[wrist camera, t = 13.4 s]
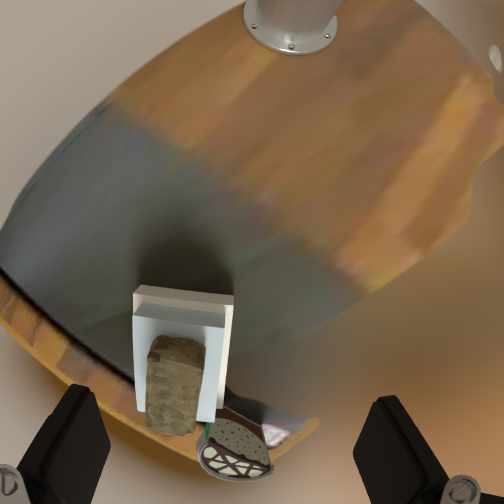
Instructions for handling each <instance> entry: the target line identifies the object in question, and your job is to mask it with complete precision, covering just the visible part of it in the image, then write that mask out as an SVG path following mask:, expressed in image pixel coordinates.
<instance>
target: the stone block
mask: <svg viewBox="0 0 504 504" xmlns="http://www.w3.org/2000/svg"><path fill="white" fill-rule="evenodd" d="M205 356H206V347H205V346H204V345H203V344H200V343H199V342H197V341H194V340H193V339H188V338H181V337H177V338H175V337H169V336H165V335H159V336H157V337H156V338H155V339H154V340H153V342H152V344H151V347H150V351H149V353H148V355H147V376H146V393H145V416H146V419H145V423H146V427H147V428H148V429H150V430H152V431H155V432H162V433H165V434H174V435H178V436H184V435H186V434H187V433H193V432H194V431H195V426H196V418H197V411H198V404H199V395H200V391H201V385H202V380H203V373H204V367H205Z"/></svg>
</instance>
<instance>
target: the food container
mask: <svg viewBox="0 0 504 504" xmlns="http://www.w3.org/2000/svg"><path fill="white" fill-rule="evenodd" d="M196 451H197V456H198V460H199V462H200V464H201V466H202V467H203V468H204V469H205V470H206V471H207V472H208V473H209V474H211V475H213V476H215V477H217V478H220V479H222V480H226V481H233V482H250V481H256V480H260V479H263V478H265V477H268V476H270V475H272V474H273V471H274V465H272V466H271V462H270V458H269V454H268V449H267V445H266V441H265V437H264V433H263V429H262V426H260V425H258V424H256V423H255V422H253V421H251V420H249V419H247V418H245V417H244V416H242V415H240V414H238V413H236V412H235V411H233V410H231V409H229V408H228V407H226V406H224V405H223V409H217V408H216V412H215V421H214V423H212V422H206V426H205V430H204V433H202V434H201V436H200V437H199V438H198V441H197V443H196Z"/></svg>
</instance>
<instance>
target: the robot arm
mask: <svg viewBox="0 0 504 504" xmlns="http://www.w3.org/2000/svg"><path fill="white" fill-rule="evenodd" d="M343 1H344V0H247V1H246V3H245V6H244V10H243V19H244V24H245V26H246V28H247V30H248V32H249V33H250V34H251V36H252V37H253V38H254V39H255V40H257V41H258V42H259V43H260V44H262V45H264V46H265V47H267V48H269V49H271V50H273V51H276V52H280V53H283V54H289V55H307V54H312V53H315V52H318V51H320V50H322V49H324V48H325V47H326V46H327V45H329V44H330V43H331V41H332V40H333V39H334V37H335V35H336V33H337V28H338V23H337V17H336V14H335V13H336V12H337V10H338V9H339V7H340V6H341V4H342V3H343ZM253 28H254V29H253ZM289 48H291V49H292V50H291V49H289ZM110 446H111V445H110V440H109V437H108V434H107V432H106V429H105V426H104V423H103V420H102V417H101V414H100V411H99V408H98V404H97V401H96V398H95V395H94V393H93V392H91V391H90V389H89V388H88V387H86V386H82V385H77V384H71V385H70V387H69V388H68V390H67V391H66V393H65V394H64V396H63V397H62V399H61V400H60V402H59V403H58V405H57V407H56V408H55V409H54V411H53V412H52V414H51V415H49V416H48V418H47V419H46V420H45V422H44V424H43V425H42V427H41V428H40V430H39V432H38V433H37V435H36V436H35V438H34V440H33V441H32V443H31V445H30V446H29V448H28V450H27V451H26V453H25V454H24V456H23V458H22V460H21V461H20V463H19V465H18V467H17V468H14V467H12V466H10V465H7V464H0V504H91V501H92V498H93V496H94V493H95V489H96V487H97V484H98V481H99V478H100V476H101V473H102V470H103V467H104V465H105V462H106V459H107V457H108V454H109V451H110ZM353 457H354V460H355V463H356V465H357V468H358V470H359V473H360V475H361V478H362V481H363V483H364V486H365V488H366V491H367V494H368V496H369V499H370V502H371V504H504V497H500V496H495V495H490V494H485V493H481V490H480V486H479V484H478V483H477V481H476V480H475V479H473V478H472V477H470V476H467V475H457V476H454V477H453V478H451V479H449V477H448V476H447V474H446V472H445V471H444V469H443V467H442V466H441V464H440V463H439V461H438V459H437V458H436V456H435V455H434V453H433V452H432V450H431V448H430V447H429V446H428V444H427V442H426V441H425V439H424V438H423V436H422V435H421V433H420V431H419V430H418V428H417V427H416V425H415V424H414V422H413V420H412V419H411V417H410V416H409V414H408V413H407V411H406V410H405V409H404V407H403V405H402V404H401V403H400V401H399V399H398V398H397V397H396V396H395V395H390V396H383V397H379V398H378V399H377V401H376V402H374V403H373V404H372V406H371V409H370V412H369V414H368V417H367V419H366V421H365V424H364V426H363V429H362V431H361V433H360V436H359V438H358V440H357V442H356V445H355V447H354V449H353Z"/></svg>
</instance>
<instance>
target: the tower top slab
mask: <svg viewBox="0 0 504 504" xmlns="http://www.w3.org/2000/svg"><path fill="white" fill-rule="evenodd" d="M225 316H226V313H217V312H209V311H201V310H194V309H186V308H179V307H172V306H165V305H159V304H152V303H146V302H142V303H141V305H140V306H139V307H138V309H137V310H136V311H135V313H134V314H133V354H134V373H135V387H136V399H137V410H138V411H141V412H145V393H146V376H147V355H148V353H149V351H150V347H151V344H152V342H153V340H154V339H155V338H156V337H157V336H159V335H165V336H169V337H175V338H177V337H181V338H188V339H193V340H194V341H197V342H199V343H200V344H203V345H204V346H205V347H206V356H205V367H204V373H203V380H202V385H201V391H200V395H199V404H198V411H197V418H196V421H203V422H212V423H214V421H215V412H216V402H217V393H218V384H219V375H220V366H221V357H222V348H223V340H224V331H225Z"/></svg>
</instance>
